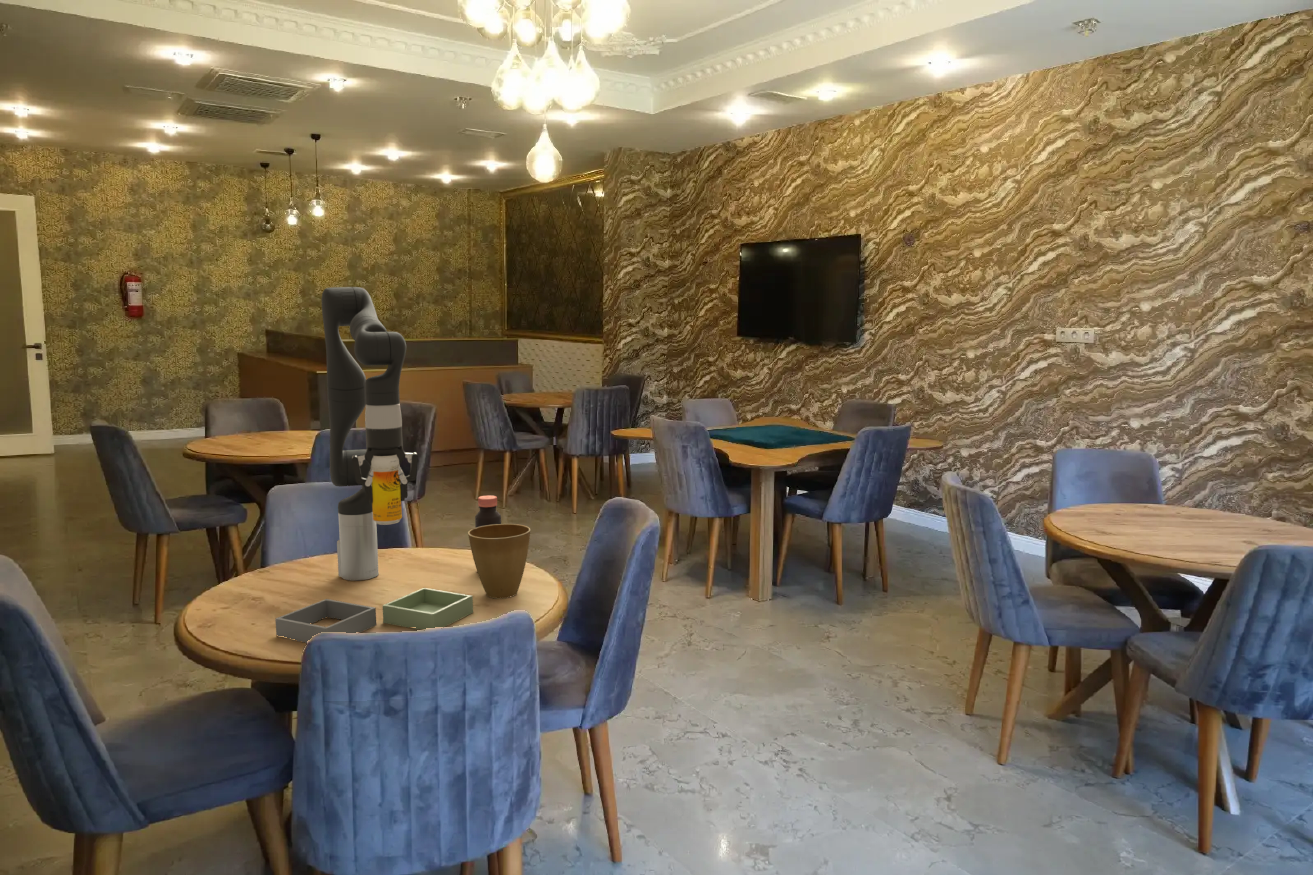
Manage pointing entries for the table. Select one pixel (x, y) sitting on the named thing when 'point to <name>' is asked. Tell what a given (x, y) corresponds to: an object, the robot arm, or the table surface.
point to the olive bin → (427, 609)
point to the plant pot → (500, 557)
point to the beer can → (386, 490)
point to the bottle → (487, 511)
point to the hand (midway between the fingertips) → (387, 501)
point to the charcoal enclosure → (350, 614)
